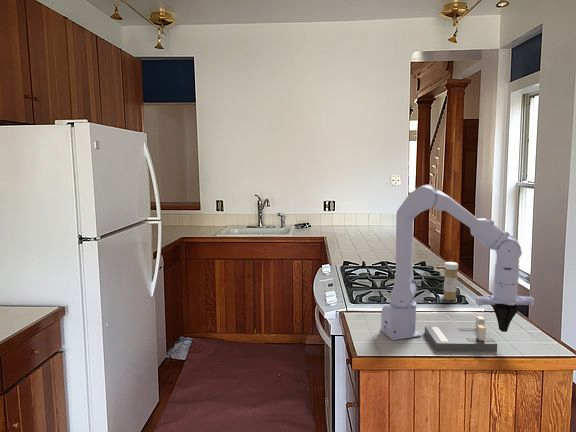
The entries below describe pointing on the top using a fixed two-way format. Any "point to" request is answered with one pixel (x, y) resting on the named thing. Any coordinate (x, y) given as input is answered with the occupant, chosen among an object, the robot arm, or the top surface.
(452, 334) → the box
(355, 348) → the top surface
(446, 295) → the sprinkles bottle
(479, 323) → the handle
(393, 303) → the robot arm
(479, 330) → the breaker handle
